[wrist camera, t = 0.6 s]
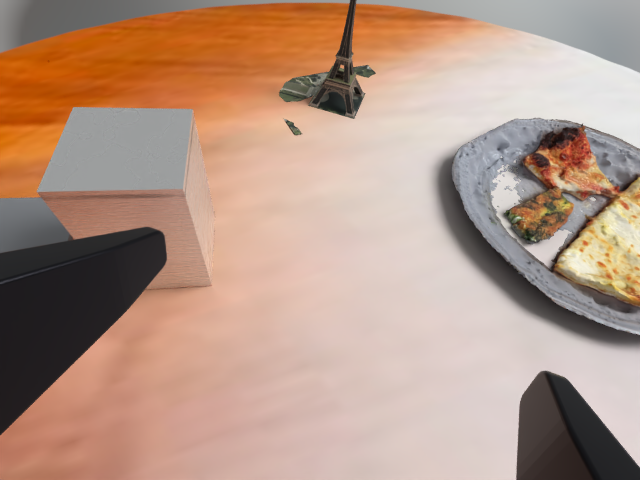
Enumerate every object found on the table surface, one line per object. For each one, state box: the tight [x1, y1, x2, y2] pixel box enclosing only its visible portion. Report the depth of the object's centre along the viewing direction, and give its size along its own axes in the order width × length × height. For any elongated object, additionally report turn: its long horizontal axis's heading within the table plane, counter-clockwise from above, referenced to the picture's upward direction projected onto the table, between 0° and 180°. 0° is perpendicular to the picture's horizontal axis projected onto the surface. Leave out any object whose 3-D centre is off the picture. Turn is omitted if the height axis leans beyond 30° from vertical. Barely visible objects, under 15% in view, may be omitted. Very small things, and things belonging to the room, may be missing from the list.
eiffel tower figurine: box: [279, 0, 376, 135], centre depth 36 cm, size 15×10×13 cm
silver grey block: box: [37, 107, 215, 290], centre depth 23 cm, size 6×6×10 cm
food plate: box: [452, 118, 640, 335], centre depth 33 cm, size 25×23×4 cm
